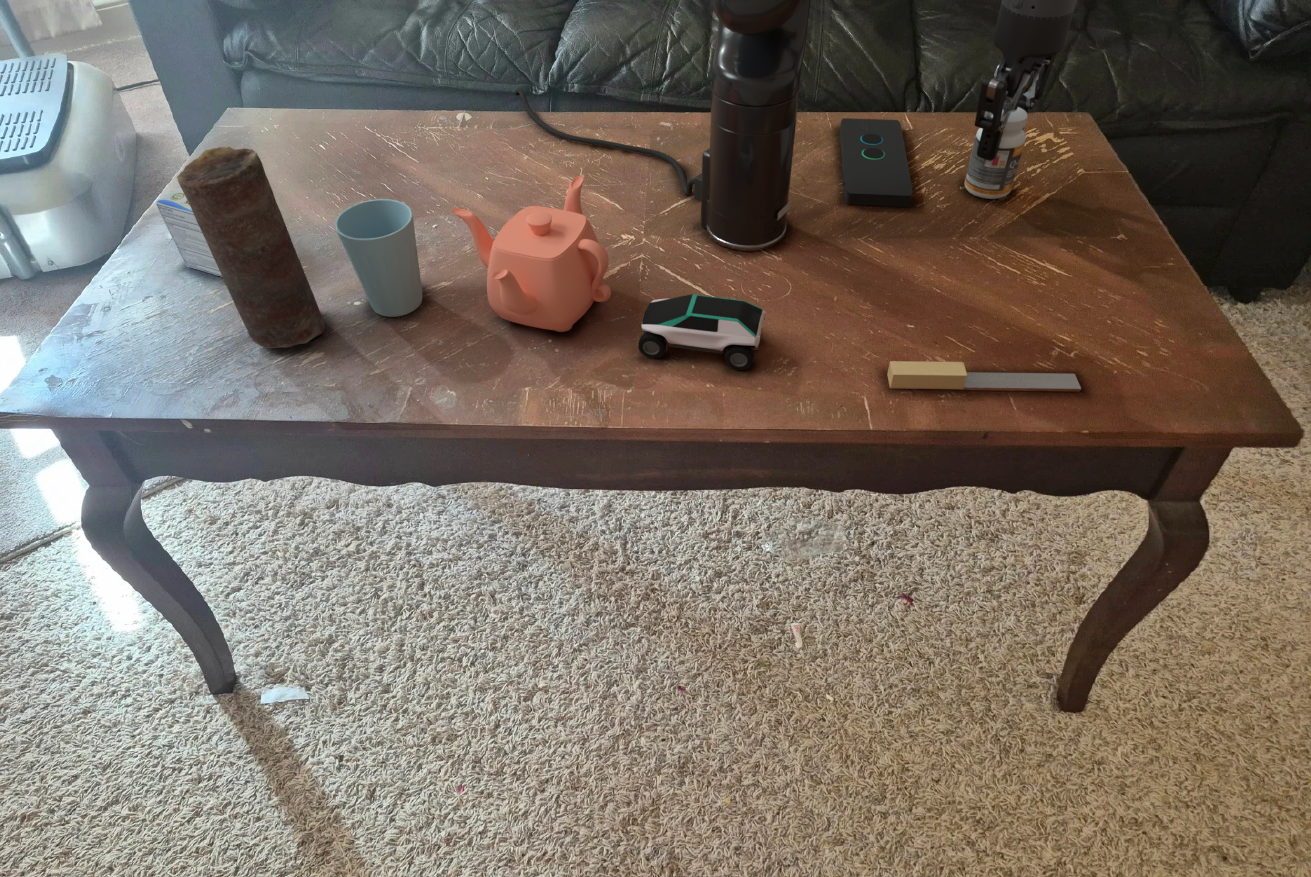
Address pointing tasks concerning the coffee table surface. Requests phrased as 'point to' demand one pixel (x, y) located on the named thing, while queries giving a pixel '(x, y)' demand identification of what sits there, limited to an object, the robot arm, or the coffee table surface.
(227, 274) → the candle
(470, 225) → the teapot
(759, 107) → the robot arm
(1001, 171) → the pill bottle
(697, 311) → the toy car
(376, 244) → the cup
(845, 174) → the smart home device
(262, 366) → the coffee table surface
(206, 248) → the medicine box
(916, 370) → the knife
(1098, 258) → the coffee table surface
